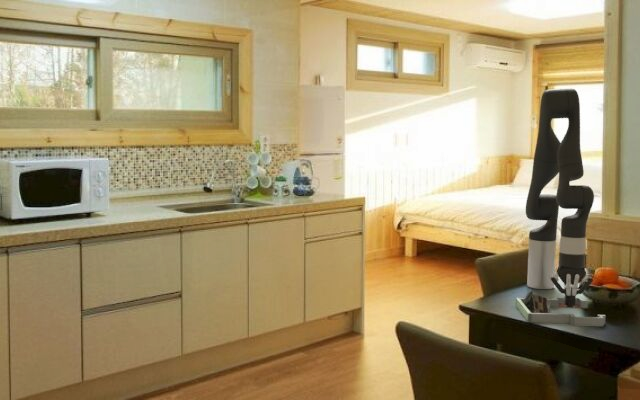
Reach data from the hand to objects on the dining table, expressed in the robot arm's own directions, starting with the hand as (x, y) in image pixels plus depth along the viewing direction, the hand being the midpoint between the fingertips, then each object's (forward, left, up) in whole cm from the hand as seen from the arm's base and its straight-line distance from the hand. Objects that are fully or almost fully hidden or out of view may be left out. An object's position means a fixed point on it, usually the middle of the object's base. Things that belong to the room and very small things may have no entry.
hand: (569, 306), depth 207 cm
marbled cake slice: (+1, -9, -3) cm, 10 cm away
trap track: (0, -3, -3) cm, 4 cm away
